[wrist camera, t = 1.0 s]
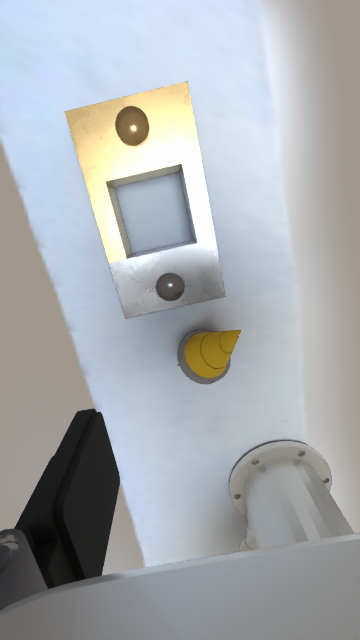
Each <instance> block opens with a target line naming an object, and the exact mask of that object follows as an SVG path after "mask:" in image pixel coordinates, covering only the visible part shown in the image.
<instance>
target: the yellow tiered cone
mask: <svg viewBox="0 0 360 640" xmlns="http://www.w3.org/2000/svg"><path fill="white" fill-rule="evenodd" d="M240 332H241V330H232V331H219V332H211V331H208V330H195V331H193V332H191V333H189V334H188V335H187V336H186V337H185V338H184V339H183V340H182V341H181V343H180V345H179V347H178V362H179V364H178V366H180V367H181V369H182V371H183V372H184V373H185V374H186V376H187V377H189V378H190V379H191V380H193V381H195V382H197V383H200V384H211V383H213V382H216V381H218V380H220V379H221V378H223V377H224V376H225V375H226V373H227V371H228V370H229V367H230V356H231V354H232V351H233V349H234V347H235V344H236V342H237V340H238V337H239V336H238V334H240Z"/></svg>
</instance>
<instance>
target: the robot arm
mask: <svg viewBox="0 0 360 640" xmlns="http://www.w3.org/2000/svg"><path fill="white" fill-rule="evenodd" d="M331 484H332V476H331V471H330V468H329V466H328V465H327V463H326V462H325V460H324V458H323V457H322V455H321V454H320V453H318V452H317V451H316V450H315V449H313V448H311V447H310V446H308V445H306V444H303V443H299V442H293V441H278V442H273V443H268V444H265V445H263V446H260V447H258V448H256V449H254V450H252V451H251V452H249V453H248V454H247V455H245V456H244V457H243V458H242V459H241V460H240V461H239V462H238V463H237V465H236V467H235V468H234V470H233V472H232V474H231V477H230V482H229V490H230V495H231V499H232V503H233V505H234V506H235V508H236V510H237V511H238V512H239V513H240V514H241V515H242V516H244V517H245V518H246V519H247V521H248V527H247V536H245V538H244V539H243V541H242V543H241V545H240V547H239V552H237V553H231V554H225V555H218V556H212V557H206V558H200V559H194V560H188V561H182V562H176V563H170V564H164V565H158V566H152V567H147V568H142V569H136V570H130V571H125V572H120V573H114V574H109V575H104V576H102V570H103V566H104V560H105V556H106V551H107V546H108V540H109V535H110V530H111V525H112V520H113V515H114V510H115V505H116V500H117V495H118V490H119V485H120V476H119V471H118V468H117V464H116V461H115V457H114V454H113V450H112V447H111V443H110V440H109V436H108V433H107V429H106V426H105V422H104V419H103V415H102V413H101V412H96V410H95V409H88V410H82V411H78V412H77V413H76V415H75V416H74V418H73V420H72V422H71V424H70V426H69V428H68V430H67V432H66V434H65V436H64V438H63V440H62V442H61V444H60V446H59V448H58V449H57V451H56V453H55V455H54V456H53V457H52V458H51V459H50V461H49V463H48V465H47V467H46V469H45V471H44V472H43V475H42V476H41V478H40V480H39V482H38V484H37V486H36V488H35V490H34V492H33V494H32V495H31V497H30V499H29V501H28V503H27V505H26V507H25V509H24V511H23V513H22V515H21V516H20V518H19V521H18V522H17V524H16V526H15V528H14V529H5V530H2V531H0V640H360V533H356V534H354V532H353V531H352V529H351V528H350V526H349V524H348V522H347V521H346V519H345V517H344V516H343V514H342V512H341V511H340V509H339V507H338V506H337V504H336V502H335V501H334V499H333V498H332V496H331V494H330V493H329V492H330V488H331Z"/></svg>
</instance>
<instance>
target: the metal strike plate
mask: <svg viewBox="0 0 360 640" xmlns="http://www.w3.org/2000/svg"><path fill="white" fill-rule="evenodd" d="M65 115H66V118H67V122H68V125H69V128H70V132H71V135H72V139H73V142H74V145H75V149H76V152H77V156H78V159H79V162H80V166H81V169H82V173H83V176H84V180H85V183H86V186H87V190H88V193H89V197H90V200H91V203H92V207H93V210H94V214H95V217H96V220H97V224H98V227H99V231H100V234H101V237H102V241H103V244H104V248H105V251H106V254H107V258H108V261H109V265H110V268H111V272H112V275H113V278H114V282H115V285H116V289H117V292H118V295H119V299H120V302H121V306H122V309H123V312H124V316H125V319H128V318H132V317H137V316H141V315H146V314H150V313H155V312H159V311H164V310H168V309H172V308H177V307H181V306H186V305H190V304H195V303H199V302H204V301H208V300H213V299H217V298H221V297H226V296H225V290H224V284H223V279H222V273H221V267H220V262H219V256H218V250H217V245H216V239H215V234H214V228H213V222H212V217H211V211H210V205H209V200H208V194H207V188H206V183H205V177H204V171H203V166H202V160H201V155H200V149H199V143H198V138H197V132H196V126H195V121H194V115H193V109H192V104H191V98H190V92H189V87H188V81H187V82H182V83H178V84H174V85H170V86H166V87H162V88H158V89H154V90H150V91H146V92H142V93H138V94H134V95H130V96H125V97H121V98H117V99H113V100H109V101H105V102H101V103H97V104H93V105H89V106H85V107H81V108H77V109H73V110H69V111H65ZM177 172H180V176H181V181H182V186H183V191H184V196H185V201H186V206H187V211H188V216H189V221H190V226H191V231H192V236H193V240H191V241H187V242H183V243H178V244H174V245H170V246H165V247H161V248H157V249H152V250H148V251H144V252H139V253H135V254H132V253H131V249H130V245H129V241H128V238H127V234H126V230H125V226H124V223H123V219H122V215H121V211H120V208H119V204H118V200H117V196H116V193H115V189H114V187H118V186H122V185H126V184H130V183H134V182H139V181H143V180H147V179H151V178H156V177H160V176H164V175H168V174H172V173H177Z"/></svg>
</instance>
